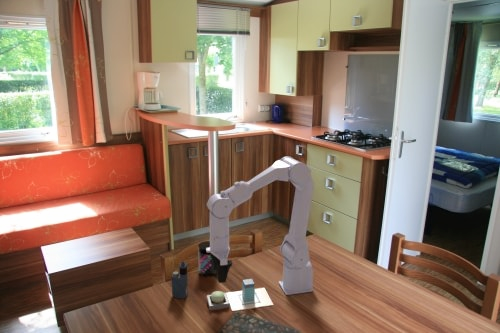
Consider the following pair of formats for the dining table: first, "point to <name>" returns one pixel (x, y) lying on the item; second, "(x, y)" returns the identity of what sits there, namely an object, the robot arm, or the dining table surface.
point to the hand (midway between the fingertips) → (219, 275)
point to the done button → (217, 297)
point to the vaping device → (180, 282)
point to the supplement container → (205, 260)
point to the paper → (260, 301)
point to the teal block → (248, 290)
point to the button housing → (218, 306)
